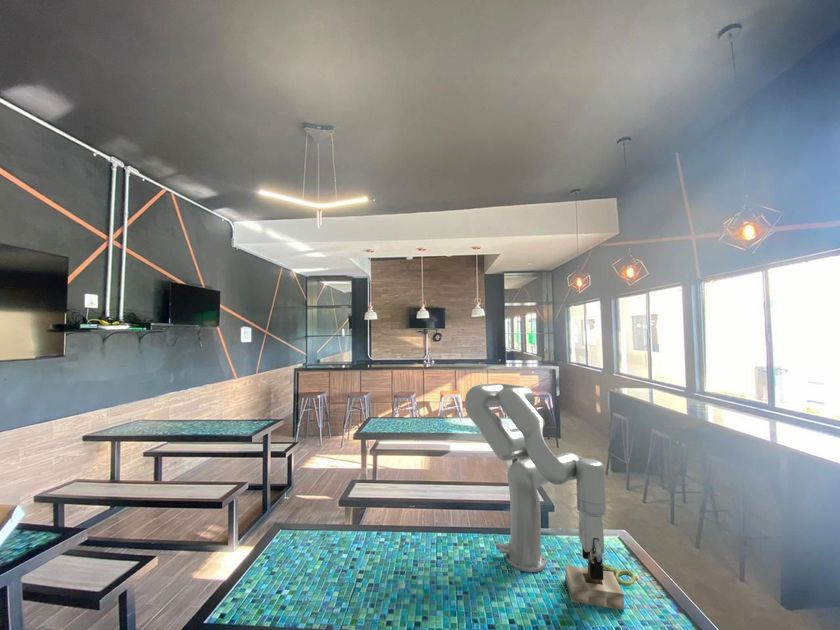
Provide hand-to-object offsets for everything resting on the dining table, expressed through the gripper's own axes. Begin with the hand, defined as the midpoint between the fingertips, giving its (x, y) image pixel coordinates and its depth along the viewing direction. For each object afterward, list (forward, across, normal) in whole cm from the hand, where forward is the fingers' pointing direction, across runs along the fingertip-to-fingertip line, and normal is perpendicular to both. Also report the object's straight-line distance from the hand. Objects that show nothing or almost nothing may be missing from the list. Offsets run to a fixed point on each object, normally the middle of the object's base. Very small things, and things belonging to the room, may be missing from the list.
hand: (592, 568), depth 104 cm
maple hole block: (+7, 0, 0) cm, 7 cm away
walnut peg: (+6, 0, 0) cm, 6 cm away
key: (+7, -12, +9) cm, 16 cm away
